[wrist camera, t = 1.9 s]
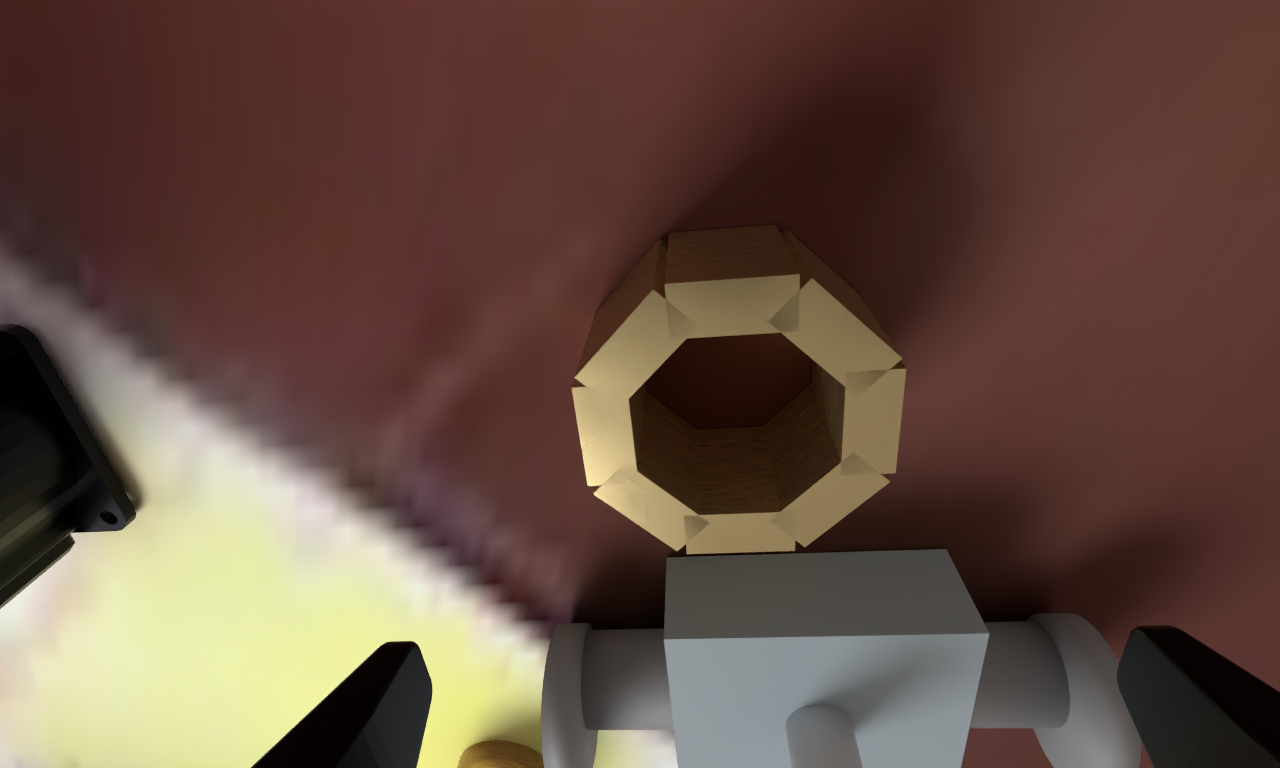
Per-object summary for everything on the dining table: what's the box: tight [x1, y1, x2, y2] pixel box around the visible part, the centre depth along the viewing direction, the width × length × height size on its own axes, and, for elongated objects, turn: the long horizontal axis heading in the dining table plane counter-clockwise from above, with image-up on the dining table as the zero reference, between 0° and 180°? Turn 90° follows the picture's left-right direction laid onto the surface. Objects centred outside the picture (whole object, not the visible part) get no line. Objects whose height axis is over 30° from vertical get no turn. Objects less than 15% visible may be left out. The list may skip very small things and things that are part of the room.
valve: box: [541, 549, 1141, 768], centre depth 18 cm, size 15×7×7 cm, turn 95°
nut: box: [572, 224, 906, 554], centre depth 15 cm, size 6×6×4 cm
